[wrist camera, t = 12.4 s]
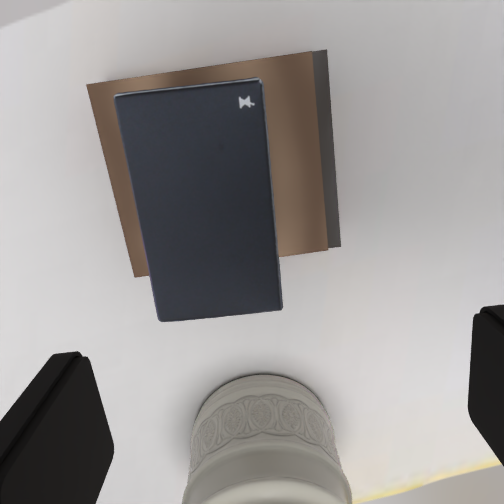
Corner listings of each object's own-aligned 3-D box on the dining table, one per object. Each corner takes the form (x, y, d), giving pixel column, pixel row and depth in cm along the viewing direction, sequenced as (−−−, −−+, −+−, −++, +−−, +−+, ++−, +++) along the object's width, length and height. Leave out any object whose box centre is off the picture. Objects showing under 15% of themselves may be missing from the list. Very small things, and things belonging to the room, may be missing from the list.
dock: (316, 55, 29) (328, 48, 26) (330, 232, 34) (342, 248, 30) (105, 87, 30) (86, 84, 26) (146, 258, 34) (134, 277, 30)
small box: (153, 94, 26) (102, 88, 16) (256, 83, 26) (269, 69, 16) (180, 253, 30) (152, 328, 20) (272, 243, 30) (289, 312, 20)
